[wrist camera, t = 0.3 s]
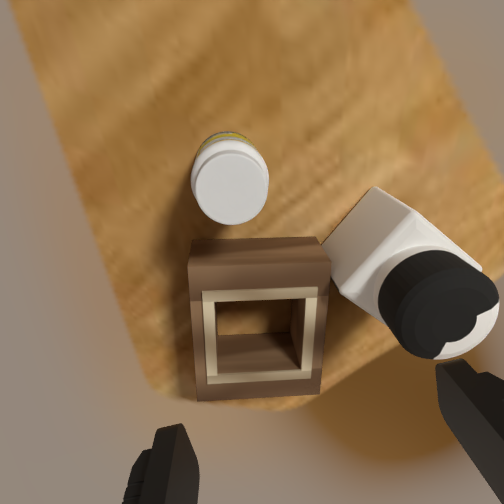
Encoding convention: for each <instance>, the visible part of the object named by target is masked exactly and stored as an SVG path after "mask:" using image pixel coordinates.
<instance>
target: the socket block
mask: <svg viewBox="0 0 504 504" xmlns="http://www.w3.org/2000/svg"><path fill="white" fill-rule="evenodd" d="M331 265H332V262H331V260H330V259H329V257H328V256H327V254H326V252H325V251H324V249H323V248H322V246H321V245H320V243H319V242H318V240H317V239H316V237H285V238H249V239H214V240H192V244H191V250H190V256H189V261H188V267H187V268H188V281H189V295H190V308H191V322H192V335H193V348H194V362H195V375H196V389H197V401H214V400H231V399H248V398H265V397H282V396H299V395H316V394H320V385H321V374H322V363H323V352H324V341H325V330H326V320H327V309H328V298H329V287H330V276H331ZM273 299H292V304H291V325H290V332H285V333H263V334H242V335H220V336H218V331H217V307H216V302H223V301H248V300H273Z"/></svg>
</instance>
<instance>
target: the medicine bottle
mask: <svg viewBox="0 0 504 504" xmlns="http://www.w3.org/2000/svg"><path fill="white" fill-rule="evenodd" d="M321 246H322V248H323V249H324V251H325V252H326V254H327V256H328V257H329V259H330V260H331V262H332V265H331V276H330V277H331V279H332V281H333V282H334V284H335V286H336V287H337V289H338V291H339V292H340V294H341V295H343V296H344V297H346V298H347V299H349V300H350V301H352V302H353V303H355V304H356V305H357V306H359V307H360V308H362V309H363V310H365V311H366V312H368V313H369V314H370V315H372V316H373V317H375V318H376V319H378V320H379V321H381V322H382V323H383V324H385V325H386V326H388V327H389V329H390V330H391V331H392V333H393V334H394V336H395V337H396V338H397V340H398V341H399V343H400V344H401V345H402V347H403V348H404V349H405V350H407V351H408V352H410V353H411V354H413V355H415V356H418V357H421V358H426V359H447V358H452V357H455V356H458V355H460V354H463V353H465V352H467V351H469V350H470V349H472V348H473V347H475V346H476V345H478V344H479V343H480V342H481V341H482V340H483V339H484V338H485V337H486V336H487V335H488V333H489V332H490V331H491V329H492V327H493V326H494V324H495V321H496V319H497V316H498V310H499V295H498V291H497V289H496V287H495V285H494V283H493V282H492V281H491V280H490V279H489V277H487V276H486V275H484V274H483V273H482V267H481V266H480V265H479V264H478V263H477V262H476V261H475V260H473V259H472V258H471V257H470V256H469V255H468V254H466V253H465V252H464V251H463V250H462V249H461V248H459V247H458V246H457V245H456V244H455V243H453V242H452V241H451V240H450V239H449V238H448V237H446V236H445V235H444V234H443V233H442V232H441V231H439V230H438V229H437V228H436V227H435V226H433V225H432V224H431V223H430V222H429V221H428V220H426V219H425V218H424V217H423V216H422V215H421V214H419V213H418V212H417V211H415V210H414V209H412V208H411V207H409V206H407V205H406V204H404V203H402V202H401V201H399V200H398V199H396V198H394V197H393V196H391V195H389V194H388V193H386V192H385V191H383V190H381V189H380V188H378V187H376V186H375V187H372V188H370V190H369V191H368V192H367V193H366V194H365V195H364V197H363V198H362V199H361V200H360V201H359V202H358V203H357V205H356V206H355V207H354V208H353V209H352V210H351V212H350V213H349V214H348V215H347V216H346V217H345V218H344V220H343V221H342V222H341V223H340V224H339V225H338V227H337V228H336V229H335V230H334V231H333V232H332V233H331V235H330V236H329V237H328V238H327V239H326V240H325V242H324V243H323V244H322V245H321Z"/></svg>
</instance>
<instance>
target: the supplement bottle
mask: <svg viewBox="0 0 504 504" xmlns="http://www.w3.org/2000/svg"><path fill="white" fill-rule="evenodd" d="M268 185H269V174H268V169H267V166H266V163H265V161H264V159H263V158H262V156H261V155H260V153H259V152H258V151H257V149H256V148H255V146H254V145H253V144H252V142H251V141H250V140H248V139H247V138H246V137H244V136H243V135H241V134H239V133H235V132H229V131H228V132H219V133H216V134H214V135H212V136H210V137H209V138H207V139H206V140H205V141H204V142H203V144H202V145H201V146H200V148H199V150H198V153H197V156H196V159H195V163H194V165H193V169H192V172H191V188H192V192H193V194H194V196H195V198H196V200H197V202H198V204H199V206H200V208H201V209H202V211H203V212H204V213H205V214H206V215H207V216H208V217H209V218H211V219H212V220H214V221H216V222H218V223H221V224H225V225H238V224H242V223H245V222H247V221H249V220H251V219H252V218H254V217H255V216H256V215H257V214H258V213H259V212H260V211H261V209H262V208H263V206H264V204H265V201H266V198H267V193H268Z"/></svg>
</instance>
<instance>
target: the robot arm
mask: <svg viewBox="0 0 504 504" xmlns="http://www.w3.org/2000/svg"><path fill="white" fill-rule="evenodd" d="M435 369H436V381H437V391H438V402H439V407H440V410H441V413H442V415H443V418H444V420H445V421H446V423H447V425H448V426H449V428H450V429H451V431H452V432H453V434H454V435H455V437H456V438H457V439H458V441H459V442H460V444H461V445H462V447H463V448H464V450H465V451H466V452H467V454H468V455H469V457H470V458H471V460H472V461H473V462H474V464H475V465H476V467H477V468H478V470H479V471H480V473H481V474H482V476H483V477H484V478H485V480H486V481H487V483H488V484H489V486H490V487H491V488H492V490H493V491H494V493H495V494H496V496H497V497H498V499H499V500H500V502H501V503H502V504H504V380H502V379H500V378H498V377H496V376H494V375H493V374H491V373H489V372H483V373H477V372H476V371H475V370H474V369H473V368H472V367H471V366H470V365H469V364H468V363H467V362H466V361H465V360H464V359H457V360H452V361H448V362H444V363H439V364H437V365H436V368H435ZM198 490H199V465H198V460H197V457H196V455H195V452H194V450H193V447H192V445H191V442H190V440H189V437H188V435H187V433H186V430H185V428H184V426H183V424H181V423H180V424H176V425H171V426H167V427H163V428H159V429H157V431H156V434H155V438H154V442H153V446H152V449H147V450H143V451H142V453H141V454H140V456H139V457H138V459H137V461H136V462H135V464H134V465H133V467H132V470H131V473H130V477H129V480H128V487H127V488H126V491H125V495H124V498H123V499H124V502H122V504H197V501H198Z"/></svg>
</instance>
